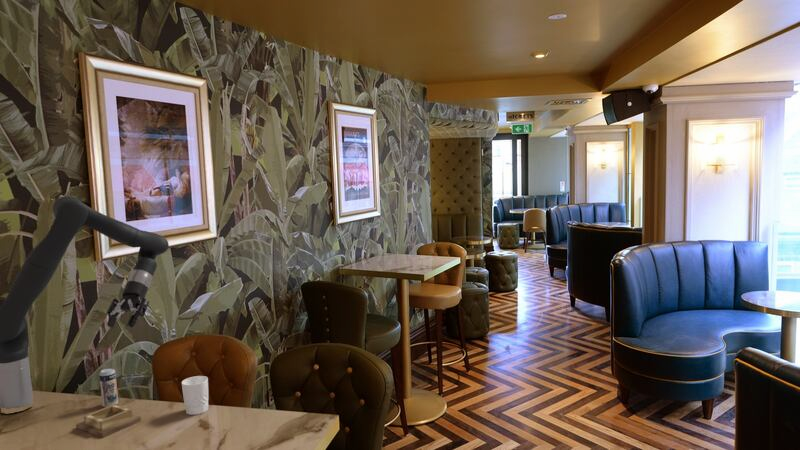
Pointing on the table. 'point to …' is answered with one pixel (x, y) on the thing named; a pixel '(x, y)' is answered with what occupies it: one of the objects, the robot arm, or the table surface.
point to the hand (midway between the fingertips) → (119, 326)
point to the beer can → (108, 387)
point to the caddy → (108, 420)
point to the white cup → (195, 394)
